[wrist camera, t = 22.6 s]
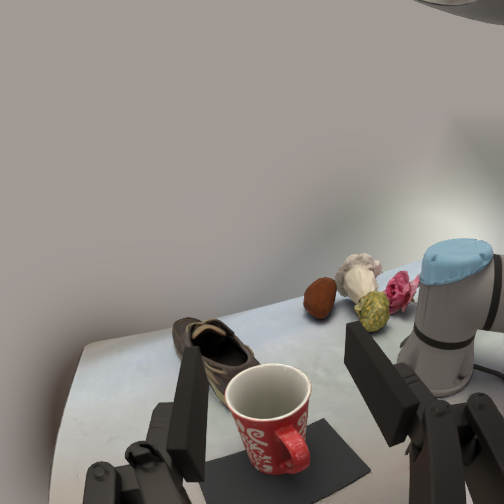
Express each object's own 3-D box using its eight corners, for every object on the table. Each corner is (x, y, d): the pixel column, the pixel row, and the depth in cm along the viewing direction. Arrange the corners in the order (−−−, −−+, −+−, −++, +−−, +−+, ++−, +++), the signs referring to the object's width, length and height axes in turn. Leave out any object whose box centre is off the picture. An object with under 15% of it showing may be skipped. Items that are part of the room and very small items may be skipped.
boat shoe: (205, 328, 67) (196, 288, 64) (293, 389, 44) (290, 339, 41) (164, 346, 61) (152, 304, 58) (241, 423, 38) (230, 374, 35)
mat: (323, 419, 37) (323, 417, 37) (370, 471, 26) (371, 469, 26) (194, 466, 31) (193, 464, 30) (220, 536, 20) (219, 535, 20)
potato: (329, 328, 63) (298, 324, 68) (344, 294, 70) (316, 292, 75) (322, 305, 59) (289, 302, 64) (338, 271, 67) (309, 270, 72)
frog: (326, 291, 72) (337, 341, 56) (343, 247, 67) (363, 292, 50) (366, 299, 73) (385, 347, 56) (386, 258, 67) (413, 302, 51)
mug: (234, 440, 35) (216, 374, 31) (294, 422, 37) (290, 354, 33) (262, 510, 23) (248, 461, 19) (333, 484, 25) (345, 425, 21)
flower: (383, 328, 62) (366, 291, 64) (398, 313, 68) (382, 279, 70) (423, 312, 53) (405, 272, 56) (434, 297, 60) (417, 261, 62)
